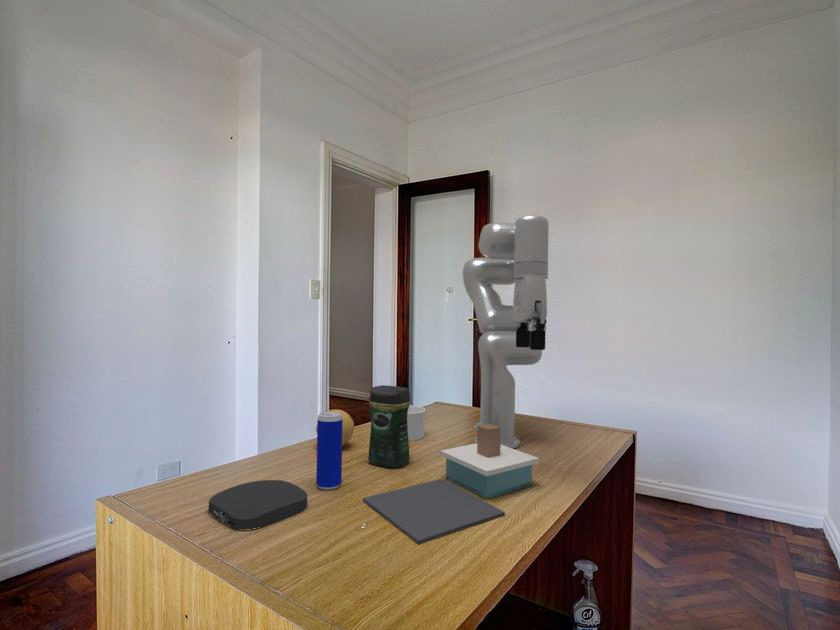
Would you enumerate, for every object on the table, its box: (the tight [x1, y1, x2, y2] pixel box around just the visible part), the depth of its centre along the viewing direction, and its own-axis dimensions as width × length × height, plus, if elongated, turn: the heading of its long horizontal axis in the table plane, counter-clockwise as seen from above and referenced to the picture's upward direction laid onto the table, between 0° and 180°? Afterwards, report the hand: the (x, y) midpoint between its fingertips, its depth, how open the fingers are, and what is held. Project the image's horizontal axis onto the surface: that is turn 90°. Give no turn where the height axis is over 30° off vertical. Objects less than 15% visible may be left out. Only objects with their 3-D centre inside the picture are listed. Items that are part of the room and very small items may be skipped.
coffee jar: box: [368, 384, 411, 468], centre depth 109 cm, size 10×8×19 cm
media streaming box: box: [208, 479, 308, 530], centre depth 83 cm, size 15×15×3 cm
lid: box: [439, 424, 540, 476], centre depth 97 cm, size 15×15×7 cm
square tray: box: [445, 458, 533, 500], centre depth 98 cm, size 13×13×5 cm
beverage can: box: [315, 411, 343, 491], centre depth 94 cm, size 5×5×15 cm
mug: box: [407, 404, 427, 442], centre depth 133 cm, size 13×10×8 cm
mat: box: [362, 478, 506, 545], centre depth 84 cm, size 19×19×1 cm
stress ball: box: [315, 409, 355, 447], centre depth 120 cm, size 10×10×10 cm
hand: (529, 348), depth 101 cm, fingers open, 9 cm apart
